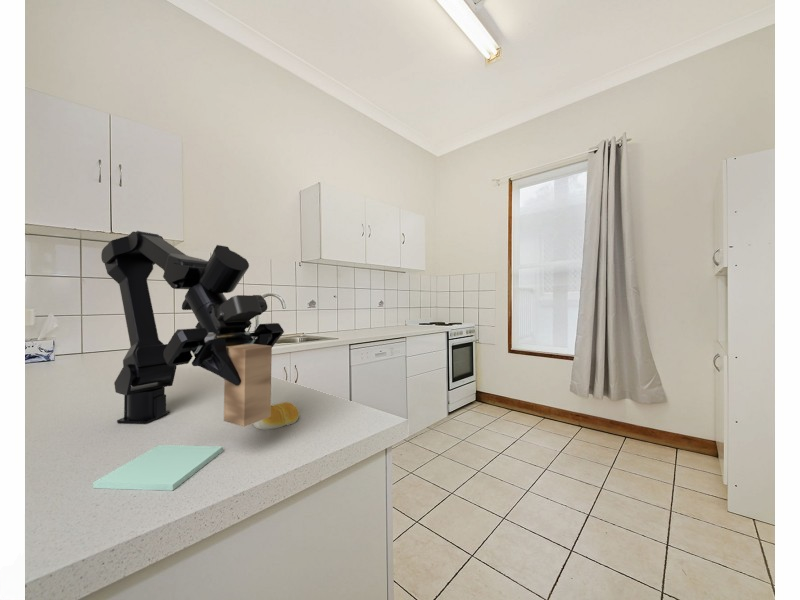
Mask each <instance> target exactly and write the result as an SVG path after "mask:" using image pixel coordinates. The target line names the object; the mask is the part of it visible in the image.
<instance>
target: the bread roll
mask: <svg viewBox="0 0 800 600" xmlns="http://www.w3.org/2000/svg"><path fill="white" fill-rule="evenodd" d="M299 416H300V413H299V410H298V407H297V406H296V405H294V404H293V403H291V402H288V401H287V402H281V403H277V404H273V405H272V404H271V417H268V418H266V419H263V420H260V421H258V422H255V423H253V424H252V425H253V427H255V428H256V429H259V430H262V431H263V430H264V431H265V430H266V431H267V430H276V429H279V428H282V427H284V426H286V425H287V426H290V424H291V425H293V424H295V423H296V422H297V421H298V419H299Z"/></svg>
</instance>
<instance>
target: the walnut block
mask: <svg viewBox="0 0 800 600" xmlns="http://www.w3.org/2000/svg"><path fill="white" fill-rule="evenodd" d="M272 348H273V347H272V346H268V345H259V344H246V345H238V346H231V347H226V351H227V354H228V356H229V357H230V359H231V361H232V363H233V365H234V366H235V368H236V370H237V372H238V374H239V376H240V379H241V383H240V384H239V385H237V386H236V385H234V384H232V383H231V382H229V381H227V380H225V379H224V378H223V379H224V380H223V381H224V385H223V386H224V387H223V389H224V391H223V393H224V394H223V397H224V398H223V422H226V423H230V424H234V425H237V426H240V427H244V428H245V427H247V426H251V425H253V423H255V422H258V421H260V420H263V419H266V418H268V417H271V405H272V404H271V403H272V353H273V351H272Z"/></svg>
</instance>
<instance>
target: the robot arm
mask: <svg viewBox="0 0 800 600" xmlns="http://www.w3.org/2000/svg"><path fill="white" fill-rule="evenodd" d="M100 256H101V262H102V263H103V264H104V266H105V267H104V268H105V269H106V273H107V275H108V276H109V277H111V278H112V279H113V281H115V282H116V283H117V284H118V287H119V291H120V297H121V301H122V306H123V307H122V308H123V311H124V316H125V322H126V328H127V334H128V340H129V344H130V347H129V349H128V351H127V353H126V354H125V356H124V358H123V360H122V369H121V370H120V372H119V373H118V375H117V377H116V378H115V380H114V390H115V393H117V394H119V395H123V398H124V402H123V404H124V406H123V409H124V410H123V413H124V414H123V417H122V418H119V419H117V420H116V423H117V424H148V423H150V422H153V421H155V420H157V419H160V418H162V417H163V416H166V415H168V414H170V413H171V410H170V409H169V410H168V409H167V394H166V393H165V392H166V391H165V388H166V387H172V386H173V383H174V380H175V376H176V370H177V366H180V365H187V364H189V363H190V361H191V365H192V366H193V367H200V368H202V369H204V370H206V371H209V372H211V373H213V374H215V375H217V376H218V377H220V378H222V379H225V380H227V381H229V382H231V383H232V384H234V385H236V386H237V385H239V384H240V383H241V379H240V376H239V374H238V372H237V370H236V368H235V366H234V365H233V363H232V361H231V359H230V357H229V356H228V354H227V351H226V347H231V346H238V345H246V344H259V345H268V346H272V348H273V347H274V345H275V344H277V341H279V339H280V338H281V337H282V335H283V334H285V331H284V329H283V327H282V326H281V324H280V323H277V322H272V323H271V322H268V323H260V324H258V326H257V327H256V328H255V330H254V331H253V332H250V331H247V330H246V329H249V328H250V327H251V326H252V324H253V323H252V321H251V320H252V319H254V318H255V317H257V316H260V315H262V314H263V313H264V312H266V311H267V310H268V304H267V301H266V300H265V298H264V297H263V296H262V295H261V294H253V295H250V294H249V295H248V294H247V295H243V294H241V295H239V294H238V295H233V296H231V297H230V298H228V299H227V297H226V296H225V294H229V293H232V292H234V290H235V289H236V288H237V286H238V285H239V283H240V281H241V280H242V278H243V277H244V276H245V274H246V272H247V271H248V269H249V267H250V264H249V261H248V260H247V258H245V257H243V256H242V255H240V254H238V253H237V252H235V251H233V250H231V249H230V248H229V247H228V246H226V245H220V244H216V246H215V247H214V250H213V251H212V254H211V256H210V257H209V259H208V260H205V259H203V258H199V257H193V256H189V255H186V254H185V253H184V252H183V251H181V250H180V249H178V248H177V247H175V246H173V244H171V243H169V242H168V241H167V240H165V239H164V238H163V236H161V235H159V234H158V233H151V232H148V231H147V232H146V231H139V230H136V231H131V233H130V234H128V235H126V236H123V237H118V238H115V239H112V240H110V241H108V243H107V244H106V245H105V246H104V247H103V249H102V250H101V255H100ZM154 265H156V266H158V267H159V268H160V269H162V270H163V275H162V278H163V279H164V280H165V281H166V282H167V284H168V285H169V286H170V287H171V288H172V289H174V290H187V291H186V293H185V296H184V300H183V302H182V304H181V310H183V311H192V313H193V315H194V316H195V318H196V320H197V324H196V325H195V328H193V327H192V328H180V329H176V331H175V332H174V333H173V334H172V336H171V338H170V340H169V341H168V343H165V344H164V343H163V342H162V341H161V340H160V338H159V334H158V329H157V323H156V318H155V314H154V309H153V303H152V299H151V294H150V288H149V284H148V279H149V277H150V275H151V273H152V271H153V270H154ZM193 356H194V358H193ZM192 359H193V360H192Z"/></svg>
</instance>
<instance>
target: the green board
mask: <svg viewBox="0 0 800 600" xmlns="http://www.w3.org/2000/svg"><path fill="white" fill-rule="evenodd" d="M223 449H224V446H220V445H219V446H218V445H217V446H216V445H215V446H214V445H213V446H212V445H182V444H181V445H180V444H179V445H178V444H177V445H176V444H159V445H157V446H154V447H153V448H152V449H150V450H148V451H146V452H143V453H142V454H140V455H139V456H137V457H134V458H133V459H132V460H130V461H128V462H126V463H125V464H123V465H121V466H119V467H118V468H115V469H114V470H112V471H110V472H109V473H107V474H105V475H103V476H101V477H100V478H99V479H97V480H95V481H93V483H92V485H93V486H92V488H93V489H104V490H105V489H108V490H111V489H112V490H115V489H116V490H135V491H137V490H139V491H142V490H144V491H166V492H167V491H169V492H170V491H171V492H172V491H174V490H175V489H177V488H178V487H179V486H180V485H182V484H184V482H185V481H187V480H189V479H190V478H191V477H192V476H193V475H195V474H196V473H197V472H198V471H200V470H201V469H203V467H205V466H206V465H207V464H209V463H210V462H211V461H212V460H214V459H215V458H216V457H218V456H219V455H221V453H222V452H223V451H224V450H223ZM218 454H219V455H218Z"/></svg>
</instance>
